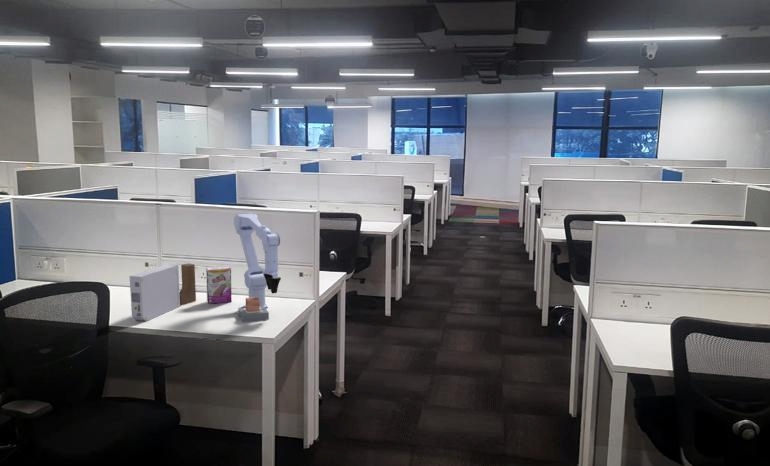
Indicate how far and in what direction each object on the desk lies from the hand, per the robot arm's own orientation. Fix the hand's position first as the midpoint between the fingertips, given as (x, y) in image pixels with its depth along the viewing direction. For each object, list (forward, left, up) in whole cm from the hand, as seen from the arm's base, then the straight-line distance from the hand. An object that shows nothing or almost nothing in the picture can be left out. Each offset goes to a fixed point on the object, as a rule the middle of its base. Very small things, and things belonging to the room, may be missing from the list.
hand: (272, 291), depth 268 cm
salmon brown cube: (+1, -9, -7) cm, 12 cm away
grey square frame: (+1, -9, -10) cm, 14 cm away
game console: (-20, -47, -11) cm, 52 cm away
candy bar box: (-30, -19, -11) cm, 37 cm away
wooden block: (-35, -34, -11) cm, 50 cm away
